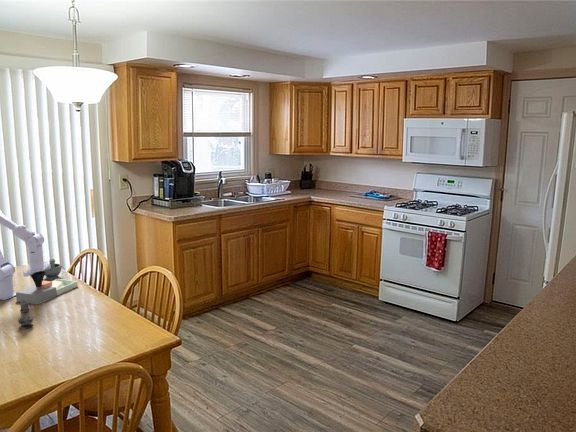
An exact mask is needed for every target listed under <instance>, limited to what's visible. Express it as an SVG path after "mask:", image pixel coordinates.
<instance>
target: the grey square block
mask: <svg viewBox="0 0 576 432" xmlns="http://www.w3.org/2000/svg"><path fill="white" fill-rule="evenodd" d="M15 293H16V296H15V297H16V302H19V303H21V302H22V301H23V300H25V301H27V302H28V304H32V305H40V304H41V303H44V302H47V301H48V300H50V299H53V298H55V297H57V296H56V287H51V286H50V287H47V288H45V289H43V288H36V285H35V284H34V285H31V286H29V287H26V288H24V289H21V290H18V291H16V292H15Z"/></svg>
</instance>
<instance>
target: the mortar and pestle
mask: <svg viewBox="0 0 576 432" xmlns="http://www.w3.org/2000/svg"><path fill="white" fill-rule="evenodd" d="M55 262H56V260H55V259H54V258H50V259H49V264H50V265H51V268H50V269H46V270H44V271H45V272H46V274H45V275H44V277H45V279H46V281H54V280H56V279H60V278H59V275H60V274H61V272H62V265H61V263H55ZM53 279H54V280H53Z"/></svg>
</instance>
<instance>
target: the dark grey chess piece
mask: <svg viewBox="0 0 576 432" xmlns="http://www.w3.org/2000/svg"><path fill="white" fill-rule="evenodd" d="M19 303H20V310H19V312H20V317H18V318H17V322H18V324H19V325H20V326H19V327H18V329H19V330H27V329H31V328H33V327H34V324H33V321H34V316H32V315H30V307H29V303H28V302H27V301H25V300H23V301H22V302H19Z"/></svg>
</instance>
